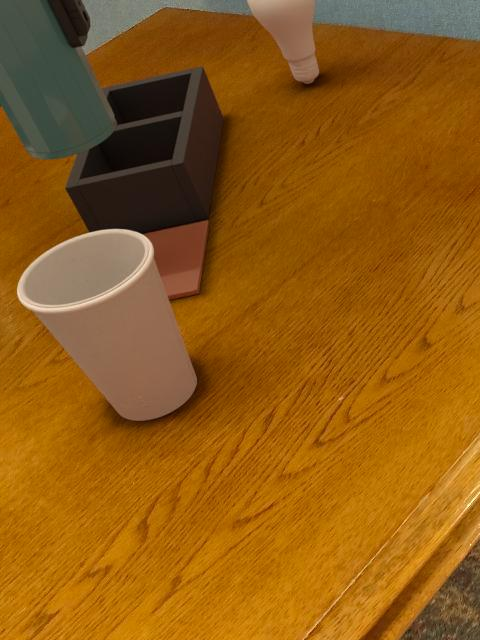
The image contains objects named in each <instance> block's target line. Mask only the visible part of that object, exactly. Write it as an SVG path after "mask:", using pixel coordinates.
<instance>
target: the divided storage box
mask: <svg viewBox="0 0 480 640" xmlns="http://www.w3.org/2000/svg"><path fill="white" fill-rule="evenodd" d="M101 88H102V90H103V92H104V94H105V96H106V98H107V100H108V103H109V105H110V107H111V109H112V111H113V113H114V116H115V118H116V120H117V126H116V129H115V130H114V132H113V133H112V134H111V135H110V136H109V137H108V138H107V139H105V140H104V141H103V142H101V143H100V144H98V145H96V146H95V147H93V148H91V149H89V150H86V151H84V152H81V153H79V154H76V155H75V159H74V161H73V165H72V167H71V170H70V173H69V176H68V179H67V181H66V184H65V187H64V189H65V191H66V193H67V195H68V196H69V198H70V201H71V202H72V204H73V205H74V207H75V209H76V211H77V212H78V215H79V216H80V218H81V220H82V221H83V224H84V225H85V227H86V229H87V231H88V233H90V232H95V231H100V230H107V229H125V230H130V231H134V232H138V233H140V234H146V233H150V232H155V231H160V230H164V229H169V228H173V227H178V226H183V225H187V224H192V223H196V222H201V221H205V220H208V219H209V215H210V210H211V203H212V197H213V190H214V185H215V178H216V172H217V167H218V158H219V154H220V148H221V147H220V146H221V140H222V134H223V127H224V121H225V117H224V116H223V113H222V110H221V108H220V105H219V102H218V101H217V98H216V95H215V93H214V90H213V88H212V85H211V83H210V81H209V78H208V75H207V73H206V70H205V67H204V66H203V65H201V66H197V67H192V68H188V69H182V70H178V71H174V72H169V73H164V74H159V75H156V76H151V77H150V76H149V77H147V78H142V79H137V80H133V81H128V82H124V83H119V84H114V85H110V86H105V87H101Z"/></svg>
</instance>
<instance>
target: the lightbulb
mask: <svg viewBox="0 0 480 640" xmlns="http://www.w3.org/2000/svg"><path fill="white" fill-rule="evenodd" d="M246 2H247V5H248V8H249V10H250V12H251V13H252V15H253V17H254V18H255V19H256V20H257V22H258V23H259V24H260V25H261V26H262V27H263V28H264V29H265V30H266V31H267V32H268V33H269V34H270V36H271V37H272V38H273V39H274V41H275V42H276V44H277V46H278V48H279V49H280V52H281V54H282V56H283V58H284V59H285V60H286V61H287V63H288V66H289V69H290V71H291V75H292V76H293V78H294V80H296V81H297V82H300V83H303V84H305V85H309V84H312V83H313V82H315V79H316V78H317V77H319V74H320V69H319V63H318V61H317V57H316V53H315V52H316V50H317V49H316V45H315V41H314V34H313V20H314V16H315V9H316V0H246Z"/></svg>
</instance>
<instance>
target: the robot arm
mask: <svg viewBox="0 0 480 640" xmlns="http://www.w3.org/2000/svg"><path fill="white" fill-rule="evenodd" d="M48 1H49V3H50V5H51V7H52V9H53V11H54V13H55V15H56V17H57V19H58V21H59V23H60V25H61V27H62V29H63V31H64V33H65V35H66V37H67V39H68V41H69V43H70V45H71V46H72V47H73V48H77V47H84V46H85V45H86V43H87V40H88V34H89V31H90V28H91V17H90V15H89V13H88V10H87V9H86V6H85V5H84V3H83V0H48Z"/></svg>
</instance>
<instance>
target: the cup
mask: <svg viewBox="0 0 480 640" xmlns="http://www.w3.org/2000/svg"><path fill="white" fill-rule="evenodd" d="M102 88H103V87H102V86H101V84H100V82H99V80H98V78H97V76H96V73H95V71H94V70H93V67H92V66H91V63H90V61H89V59H88V57H87V56H86V53H85V51H84V49H83V46H81V47H77V48H73V47H72V46H71V45H70V43H69V41H68V39H67V37H66V35H65V33H64V31H63V29H62V27H61V25H60V23H59V21H58V19H57V17H56V15H55V13H54V11H53V9H52V7H51V5H50V3H49V1H48V0H0V107H1V108H2V110H3V112H4V114H5V115H6V117H7V119H8V121H9V122H10V124H11V126H12V128H13V130H14V132H15V133H16V134H17V136H18V138H19V140H20V142H21V143H22V146H23V147H24V149H25V151H26V152H27V154H28V155H29V156H30V157H31V158H33V159H36V160H43V161H45V160H47V161H51V160H52V161H53V160H59V159H64V158H69V157H73V156H77V154H79V153H81V152H84V151H86V150H89V149H91V148H93V147H95V146H96V145H98V144H100V143H101V142H103V141H104V140H105V139H107V138H108V137H109V136H110V135H111V134H112V133H113V132H114V130H115V129H116V126H117V120H116V118H115V116H114V113H113V111H112V109H111V107H110V105H109V103H108V100H107V98H106V96H105V94H104V92H103V90H102Z"/></svg>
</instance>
